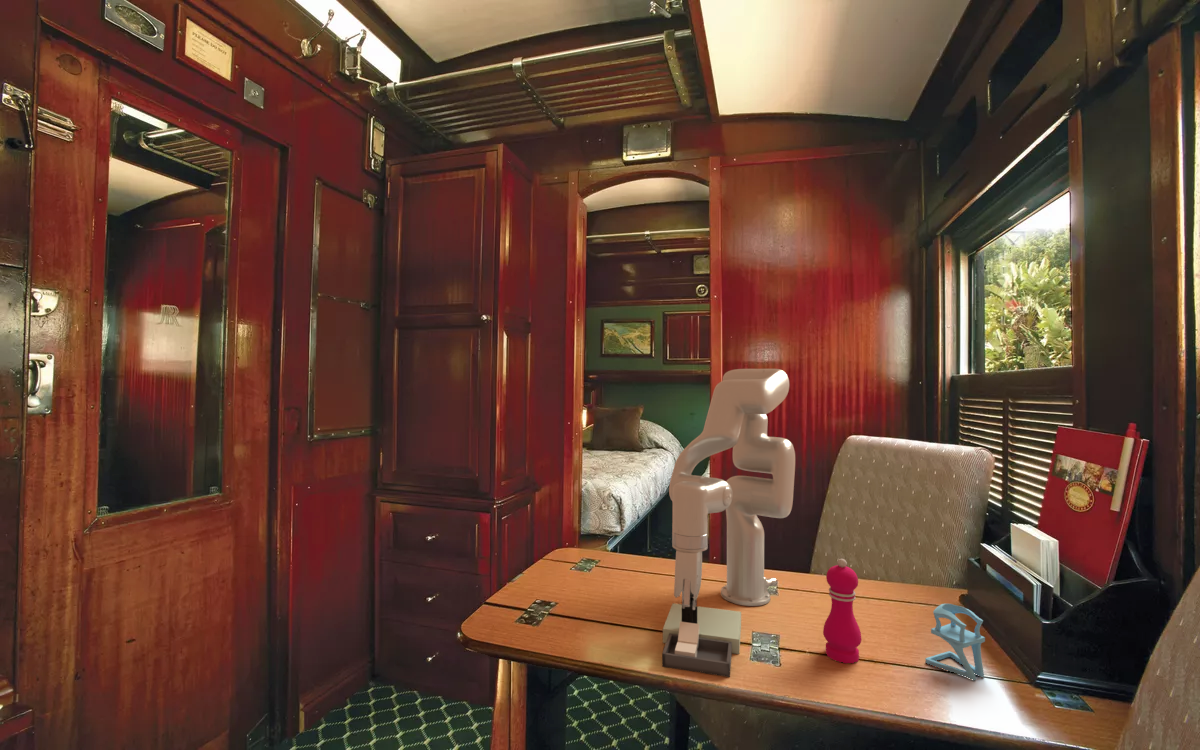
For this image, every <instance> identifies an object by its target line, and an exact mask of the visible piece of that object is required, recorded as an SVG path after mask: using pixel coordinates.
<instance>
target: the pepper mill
mask: <svg viewBox="0 0 1200 750" xmlns="http://www.w3.org/2000/svg"><path fill="white" fill-rule="evenodd" d="M836 562H837V563H836V565H833V566H830V567H829V569H828V570H827V571H826V578H825V579H826V583H827V584H828V586H829V587H828V592H829V593H828V595H829V597H830V599H831V608H830V611H829V614H828V616H827V618H826V620H825V622H824V624H823V629H822V632H823V633H822V634H823V638H824V639H825V640H826V642H825V654H827V655H826V656H827V657H828V658H829V657H830V658H829V659H830V660H832V661H834V660H836V661H835V662H837V661H839V662H838V663H841V662H843V663H842V664H847V663H852V664H855V663H854V662H856V663H857V662H859V660H860V651H859V648H858V647H860V645H861V643H862V632H861V630H860V629H861V628H860V627H859V626H860V625H859V624H858V622H857V620H856V617H855V615H854V608H853V607H854V605H853V604H854V601H855V600H856V595H857V594H856V591H855V590H856V589H857V587H858V586H859V579H858V578H859V577H858V574H857V573H856V572H855V570H854V569H852V568H850V567H848V566H847V565H848V562H847V561H846V559H844V558H839V559H838V560H837V561H836Z"/></svg>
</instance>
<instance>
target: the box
mask: <svg viewBox="0 0 1200 750" xmlns="http://www.w3.org/2000/svg"><path fill="white" fill-rule="evenodd" d="M677 642H678V634H671V633H669V636H668V639H667V642H666V643H665V645H664V648H663V651H662V653H661V655H662V657H661V665H662V667H664V668H669V669H674V670H675V669H676V670H682V671H688V672H696V673H700V674H708V675H712V676H713V675H714V676H720V677H726V678H727V677H728V678H730V677H731V668H732V667H731V665H732V654H733V653H732V642H728V641H721V640H713V639H706V638H699V642H698V648H697V657H690V656H684V655H677V654H675V648H676V645H677Z"/></svg>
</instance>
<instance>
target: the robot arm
mask: <svg viewBox="0 0 1200 750" xmlns="http://www.w3.org/2000/svg"><path fill="white" fill-rule="evenodd" d="M789 390H790V379H789V377H788V374H787V373H786V372H785V371H784V370H782V369H779V368H737V369H731V370H728V371H726V372H725V373H724V374H723V376H722V381H720V382H718V383H717V384H716V386H715V387H714V389H713V392H712V395H711V400H710V404H709V408H708V412H707V415H706V417H705V418H706V419H705V423H704V426H703V430H702V431H701V433H700V434H699V435H698V436H697V437H695V438H694V439H693V440H691V442H689V443H688V444H687V446H686V447H684V449H683V450H682V451H681V452H680V453H679V454H678V457H677V459H676V460H675V463H674V467H673V470H672V473H671V477H670V482H669V487H668V493H669V498H670V500H671V501H672V523H671V524H672V525H671V526H672V532H671V534H672V535H671V538H672V540H671V543H672V546H671V547H672V549H674V550H675V551H676V552H675V562H674V563H675V564H674V589H673V596H674V598H679V597H680V596H681V604H682V622H688V623H695V624H697V604H698V597H699V593H700V590H701V586H702V578H703V577H702V576H703V573H702V572H703V552H705V551H707V550H708V548H709V547H708V546H709V545H708V537H709V533H708V528H709V527H708V525H709V524H708V523H709V520H708V519H709V518H708V514H714V513H715V514H716V513H721V512H724V511H725V515H726V584H725V585H724V586H723V587H721V589H720V596H721V597H722V599H724V600H725V601H727V602H730V603H732V604H735V605H738V606H739V605H740V606H744V607H745V606H746V607H759V606H763V605H766V604H769V603H770V601H771V594H770V592H769V591H768V588H769V587H773V586H776V585H777V583H778V582H777V579H776V578H775V577H769V578H766V577H765V530H764V527H763V524H762V521H760V519H759V518H758V516H762V517H769V518H775V519H784V518H787V517H788V516H789V515H790V514H791V511H792V509H793V503H794V502H793V501H794V491H795V490H794V489H795V487H794V486H795V472H796V451H795V448H794V444H793V443H792V441H790V440H789V439H788V438H784V437H779V436H778V437H776V436H768V424H769V423H768V422H769V421H768V420H769V419H768V416H767V414H769V413H771V412H773V410H775V409H776V408H777V407H778V406H779V405H780V404H782V402H784V400H785V399H786V398H787V396H788V393H789ZM731 448H732V463H733V465H734V467H735V468H737V469H739V470H742V471H747V472H752V473H753V472H754V473H761V474H762V473H764V474H771V475H772V478H764V477H759V476H758V477H757V476H750V475H748V476H747V475H733V476H731V477H729V478H728V479H726V480H724V479H722V478H717V477H709V476H704V475H695V474H694V475H693V474H692V473H693V471H694V469H695V467H696V466H697V465H698V464H699V463H700V462H702V461H703V460H705V459H706V458H708V457H711V456H713V455H716V454H719V453H721V452H723V451H727V450H729V449H731Z"/></svg>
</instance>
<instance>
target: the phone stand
mask: <svg viewBox="0 0 1200 750" xmlns="http://www.w3.org/2000/svg"><path fill="white" fill-rule="evenodd" d="M932 613H933V616H934V619H935V624H936V625H935V627H933V628H930V634H932V635H935V636H936V637H939V638H941V640H944V642H946V643H948V644H949V645H950V646H951V648H952V649H953V650H954V652H953V651H950V650H948V651H945V652H941V653H938V654H935V655H931V656H928V657H925V660H924V661H925V664H926V663H927V665H929V664H930V665H929V666H931V665H933V666H932V667H934V666H936V667H935V668H937V667H939V668H938V669H940V668H943V669H945V670H948V671H950V672H949V673H951V672H954V673H957V674H960V675H963V676H966V677H968V678H970V679H973V680H976V681H977V676H976V675H975V674H977V675H979V676H981V677H984V678H985V674H984V667H983V666H984V664H983V659H982V648H981V647H982V646H981V645H982V643H985V642H986V637H985V636H983V635H981V631H980V629H981V626H982V624H983V622H984V620H983V619H982V618H980V617H979V616H978V615H976V614H975V612H973V611H972V610H970V609H969V608H966V607H965V606H961V605H957V604H953V603H941V604H940V605H938V606H936V608H935V609H934V610H933V611H932ZM956 614H964V615H967V616H968V617H970V618H972V619H973V621H975V622H976V625H975V627H974V629H973V630H974V632H972V631H970V630H969V629H966V627H967V624H965V622H963V621H961V620H960V619H959V618H958V617H957V615H956ZM940 618H941V619H942V618H943V619H947V620H949V621H950V623H948V624H945V625H942V623H941V620H940ZM968 647H971V651H972V655H973V661H974V662H973V663H974V665H973V664H971V663H970V662H969V661H968V659H967V657H966V654H965V652H964V649H966V648H968ZM947 658H951V659H952V660H954V659H955V662H957V663H958V662H959V663H958V664H959V665H961V664H962V665H963V666H962V665H961V666H962V667H963V668H964V669H960V668H958V667H956V666H952V665H949V664H946V663H942V662H940V661H941V660H944V659H947ZM937 660H938V661H937ZM945 670H944V671H945ZM948 671H947V672H948ZM954 673H953V674H954ZM974 673H975V674H974ZM970 679H969V680H970Z"/></svg>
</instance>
